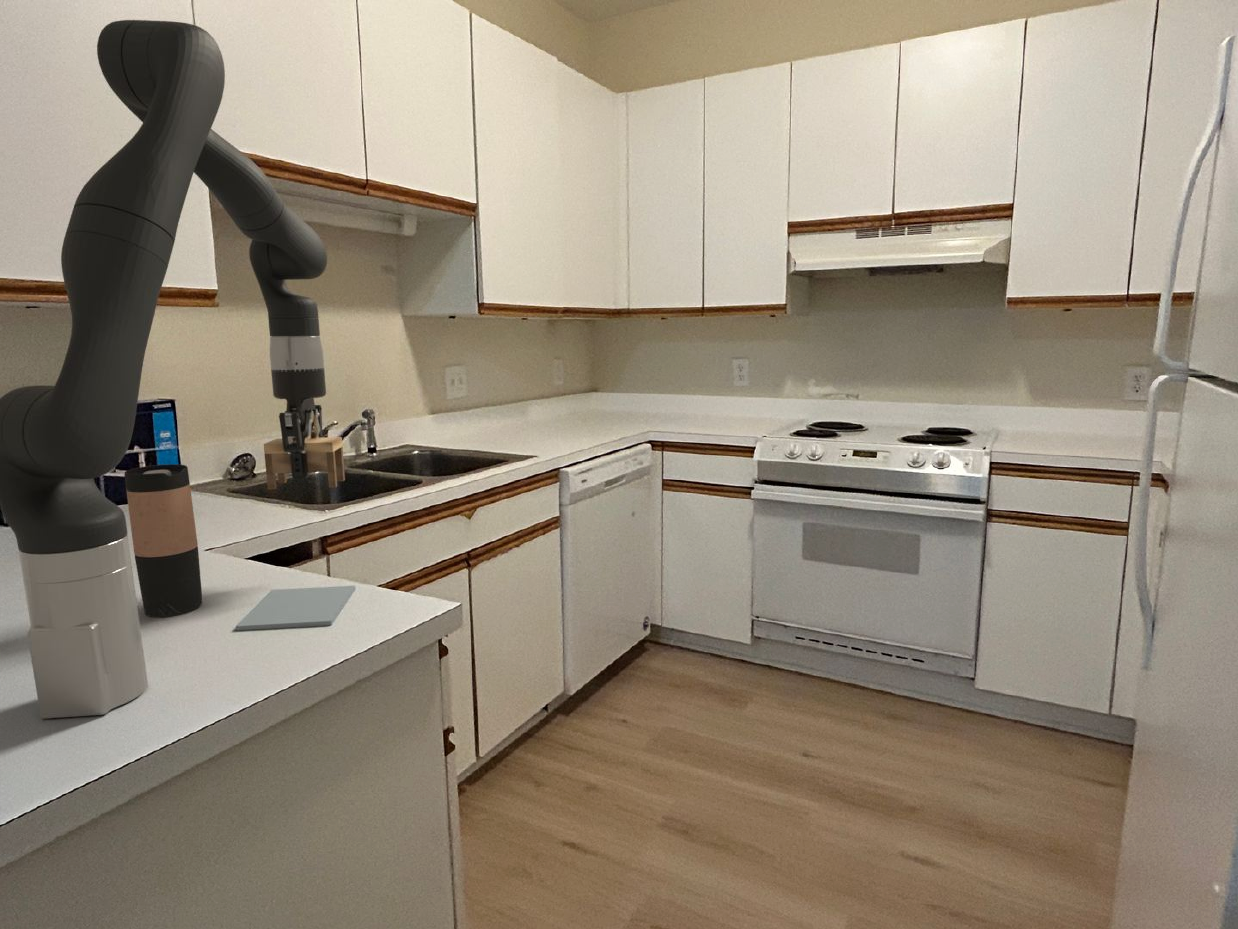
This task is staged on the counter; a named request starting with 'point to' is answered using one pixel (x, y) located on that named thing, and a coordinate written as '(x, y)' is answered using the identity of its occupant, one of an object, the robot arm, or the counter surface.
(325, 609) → the mat
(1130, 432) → the counter surface
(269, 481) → the stool
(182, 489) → the travel mug
